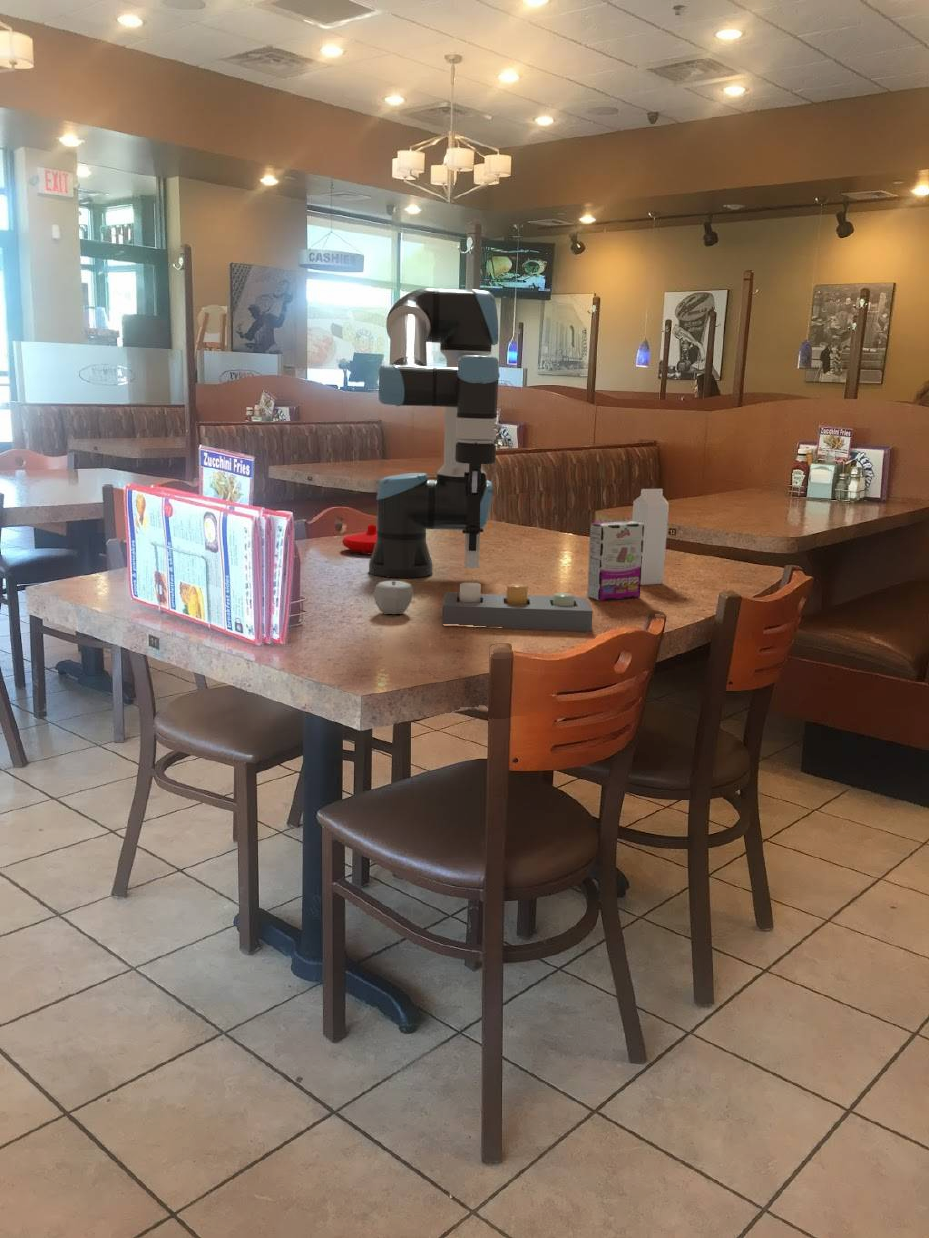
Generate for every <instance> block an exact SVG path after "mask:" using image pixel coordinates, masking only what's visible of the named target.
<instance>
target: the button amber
mask: <svg viewBox="0 0 929 1238" xmlns="http://www.w3.org/2000/svg"><path fill="white" fill-rule="evenodd" d="M528 589H529V587H528V585H526V584H520V583H511V584H510V583H509V584H507V585H506V595H507V596H506V604H524V605H527V595H528V591H529V590H528Z"/></svg>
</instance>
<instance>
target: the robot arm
mask: <svg viewBox="0 0 929 1238" xmlns="http://www.w3.org/2000/svg"><path fill="white" fill-rule="evenodd" d="M497 310H498V309H497V303H496V298H495V297H494V294H493V293H491V292H490V291H488V290H481V289H474V288H472V289H464V288H463V289H462V288H461V289H460V288H459V289H458V288H433V287H426V288H420V289H416V290H413V291H410V292H409V293H407V294H405V295H403V296H402V297H401V298H400V299H398V300H397V301H396V302H395V303H394V304H393V305H392V307H391V309H390V310H389V312H388V314H387V317H386V322H385V323H386V333H387V336H388V337H389V339H390V342H389V344H390V345H389V346H390V347H389V364H384V365H381V366H380V367H379V368H378V401H379V402H380V403H381V404H382V405H386V406H387V405H389V406H396V407H403V406H404V407H436V408H437V407H438V408H439V407H442V408H445V410H444V412H445V413H444V440H443V441H444V444H443V464H442V466H441V467H440V468H439V469H438V470H437V472H436V479H429V476H428V474H427V473H426V472H409V473H401V474H393V475H389V476H385V477H383V478H380V480H379V481H378V484H377V495H376V500H377V506H376V507H377V513H376V530H377V541H376V544H375V547H374V550H373V553H372V554H371V556H370V559H369V562H368V572H369V573H370V574H372V575H374V576H378V577H384V576H389V577H388V578H393V577H398V578H397V579H405V578H406V579H412V578H413V579H414V578H422V577H427V576H430V575H432V574H433V573H434V572H433V569H434V565H433V564H434V563H433V561H432V557H431V553H430V550H429V547H428V544H427V543H428V542H427V530H452V531H453V530H455V531H462V532H461V533H462V534H465V544H464V547H465V548H464V568H475V569H479V568H480V548H481V547H480V546H481V545H480V541H481V533H484V528H485V527H486V524H487V522H488V519H489V515H490V511H491V510H490V509H491V505H492V497H493V495H492V493H493V482H492V481H491V480H488V479H487V473H486V471H485V470H484V469H483V467H482V465H493V464H495V463H496V455H497V454H496V453H497V451H496V450H497V445H496V443H494V442H493V441H496V439H497V431H496V430H499V429H500V428H501V425H500V423H497V422H498V421H497V418H498V397H499V396H498V395H499V393H498V392H499V378H500V377H501V376H500V370H499V369H500V367H499V365H500V364H499V363H500V361H499V359H498V357H495V356H491V354H492V346H495V345H496V346H497V344H499V319H498V318H499V317H498V311H497ZM427 343H437V344H440V345H439V347H440V348H439V351H440V353H441V354H442V355H443V357H445V359H446V366H432V365H431V366H429V365H428V358H427V357H428V356H427V354H428V353H427Z"/></svg>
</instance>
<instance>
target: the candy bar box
mask: <svg viewBox="0 0 929 1238" xmlns="http://www.w3.org/2000/svg"><path fill="white" fill-rule="evenodd" d="M589 528H590V529H589V547H588V548H589V550H588V551H589V552H588V556H589V557H588V571H587V572H588V573H587V574H588V575H587V576H588V577H587V593H586V595H587V597H586V598H589V599H591V600H595V601H597V602H604V601H605V602H606V601H615V600H616V601H617V600H624V599H625V600H626V599H636V598H637V599H638V598H640V596H641V586H642V585H641V568H642V552H643V535H644V524H643V523H639V522H635V521H632V520H627V521H610V522H609V521H608V522H594V523H593V522H592V523H590V527H589Z"/></svg>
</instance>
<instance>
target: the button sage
mask: <svg viewBox="0 0 929 1238" xmlns="http://www.w3.org/2000/svg"><path fill="white" fill-rule="evenodd" d="M552 596H553V606H574V597H575V595H574V594H571V593H564V592H559V593H553V595H552Z"/></svg>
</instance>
